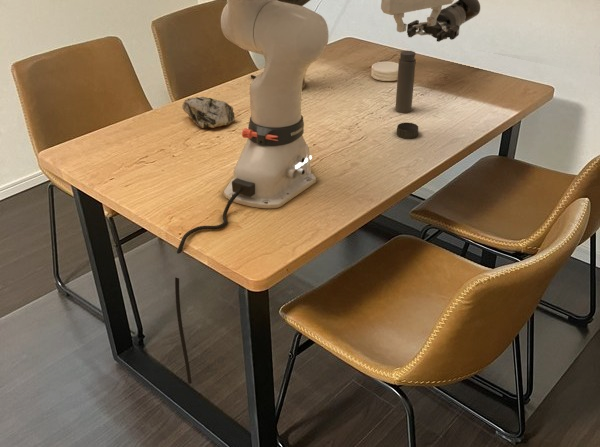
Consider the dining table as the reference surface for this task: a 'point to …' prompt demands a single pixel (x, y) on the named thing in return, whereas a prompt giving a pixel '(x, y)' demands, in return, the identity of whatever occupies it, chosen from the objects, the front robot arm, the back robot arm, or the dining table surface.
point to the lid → (407, 130)
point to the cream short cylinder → (385, 71)
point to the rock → (208, 112)
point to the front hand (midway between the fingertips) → (416, 28)
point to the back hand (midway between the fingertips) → (423, 35)
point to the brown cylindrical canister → (405, 82)
